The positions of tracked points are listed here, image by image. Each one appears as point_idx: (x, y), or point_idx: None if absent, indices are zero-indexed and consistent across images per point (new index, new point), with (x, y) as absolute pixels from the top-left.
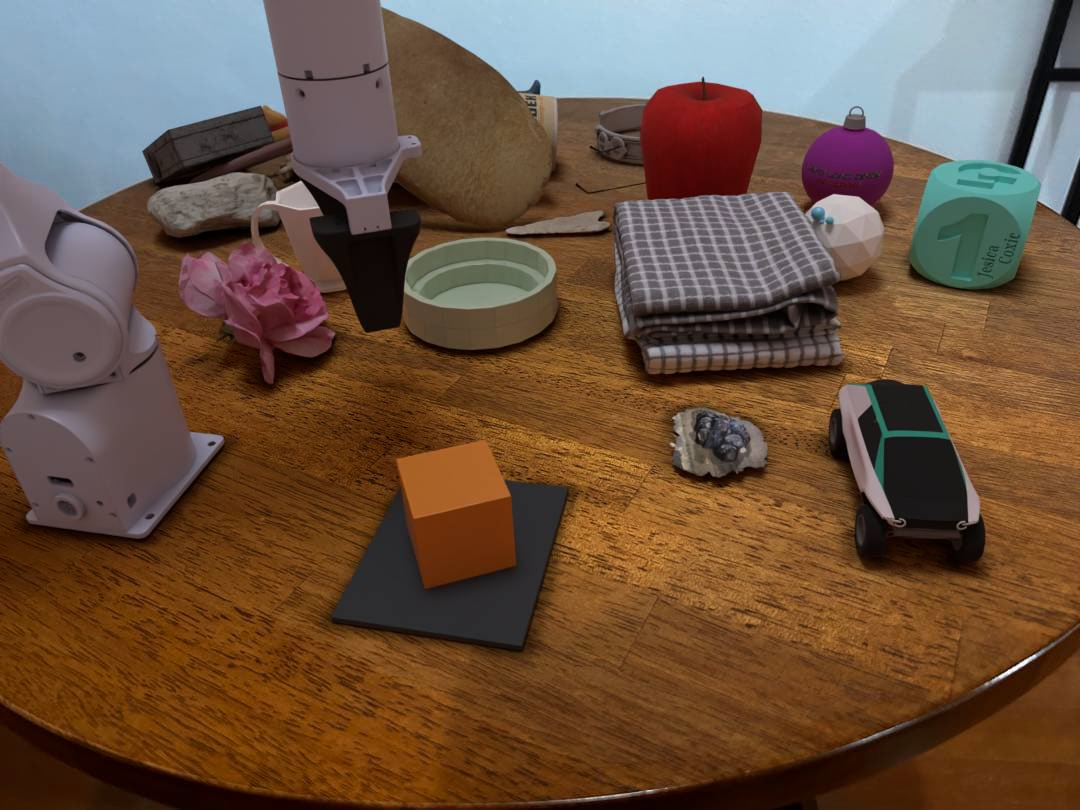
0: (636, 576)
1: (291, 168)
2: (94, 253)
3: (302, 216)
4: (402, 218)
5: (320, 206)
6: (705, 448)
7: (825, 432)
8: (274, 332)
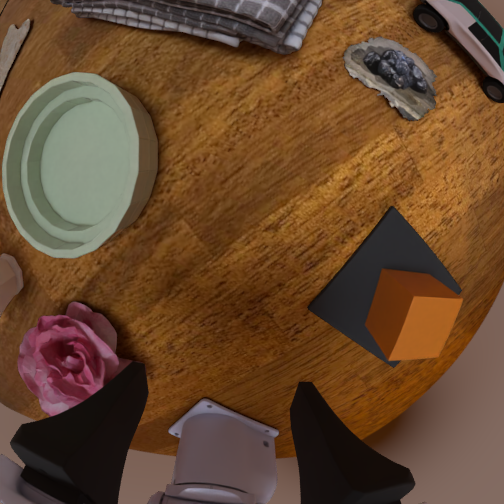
0: (461, 209)
1: None
2: None
3: None
4: (383, 498)
5: (121, 476)
6: (405, 89)
7: (403, 13)
8: (109, 371)
